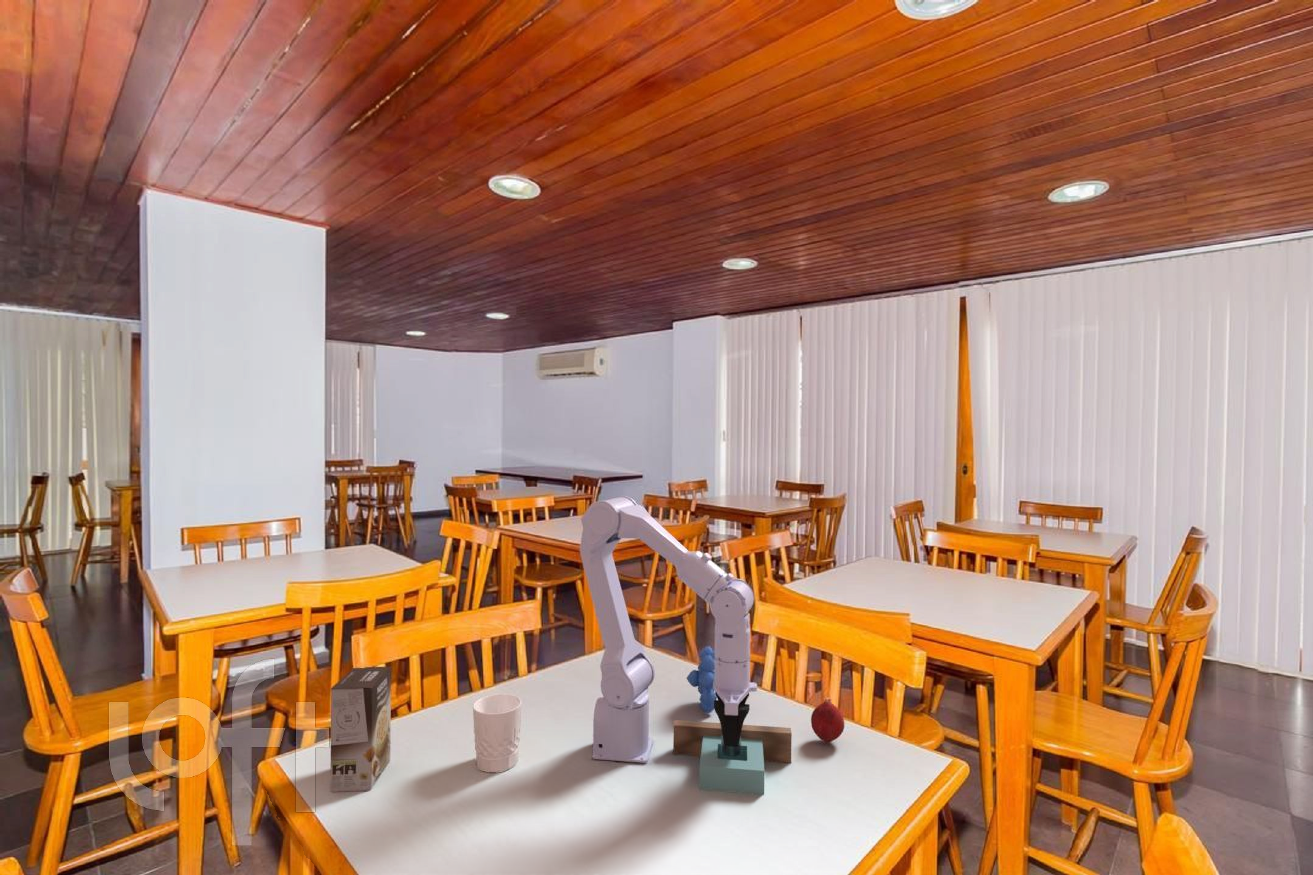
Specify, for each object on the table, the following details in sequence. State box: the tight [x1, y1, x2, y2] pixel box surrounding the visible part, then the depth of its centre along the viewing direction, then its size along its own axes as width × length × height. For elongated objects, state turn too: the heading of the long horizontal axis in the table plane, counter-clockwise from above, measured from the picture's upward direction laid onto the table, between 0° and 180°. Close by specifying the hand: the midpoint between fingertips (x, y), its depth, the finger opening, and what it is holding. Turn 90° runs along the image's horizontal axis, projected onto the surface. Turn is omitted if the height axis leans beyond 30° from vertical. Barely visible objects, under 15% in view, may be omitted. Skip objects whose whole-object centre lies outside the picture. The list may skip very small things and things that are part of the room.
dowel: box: [721, 729, 741, 757], centre depth 104 cm, size 3×3×7 cm
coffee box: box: [329, 666, 392, 793], centre depth 102 cm, size 9×6×16 cm
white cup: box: [472, 693, 522, 773], centre depth 107 cm, size 8×8×10 cm
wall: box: [672, 719, 793, 764], centre depth 110 cm, size 20×2×5 cm, turn 82°
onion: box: [810, 697, 845, 744], centre depth 114 cm, size 6×6×8 cm
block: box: [698, 735, 765, 796], centre depth 104 cm, size 10×10×4 cm
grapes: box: [686, 645, 718, 714], centre depth 128 cm, size 12×7×12 cm, turn 178°
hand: (731, 739), depth 104 cm, fingers closed on dowel, 3 cm apart
